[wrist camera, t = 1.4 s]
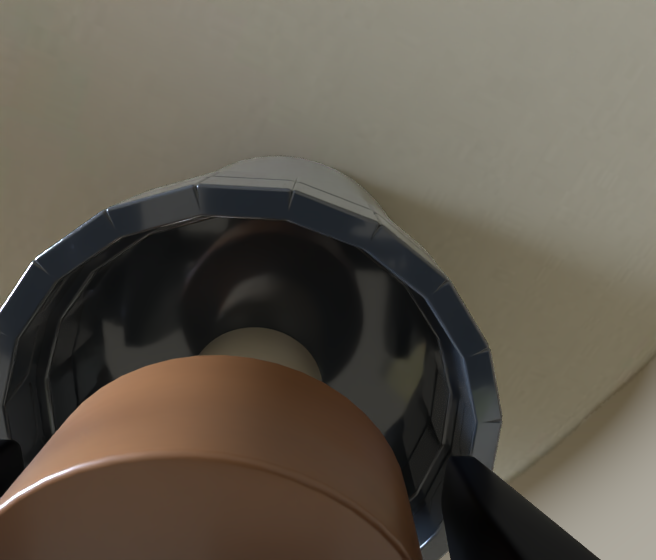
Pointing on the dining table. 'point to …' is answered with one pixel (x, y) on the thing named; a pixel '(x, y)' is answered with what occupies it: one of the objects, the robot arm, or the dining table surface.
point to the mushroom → (214, 467)
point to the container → (258, 312)
